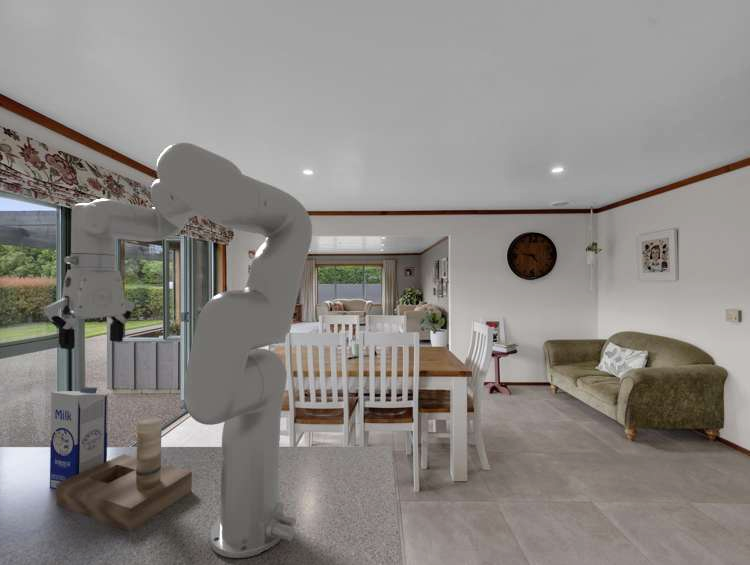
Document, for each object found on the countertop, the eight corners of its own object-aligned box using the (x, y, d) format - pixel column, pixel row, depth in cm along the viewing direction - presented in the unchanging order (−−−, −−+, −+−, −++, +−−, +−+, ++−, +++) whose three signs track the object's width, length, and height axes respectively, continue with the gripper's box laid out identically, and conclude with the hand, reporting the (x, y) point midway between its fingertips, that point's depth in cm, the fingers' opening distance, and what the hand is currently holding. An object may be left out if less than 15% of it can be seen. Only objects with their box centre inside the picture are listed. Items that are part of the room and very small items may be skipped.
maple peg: (165, 480, 72) (166, 419, 72) (146, 492, 68) (147, 427, 68) (150, 476, 73) (151, 416, 73) (130, 487, 69) (131, 424, 69)
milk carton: (48, 488, 76) (50, 391, 75) (82, 471, 82) (83, 382, 82) (75, 493, 74) (77, 394, 74) (107, 476, 80) (108, 385, 80)
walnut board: (191, 491, 75) (191, 472, 75) (129, 531, 63) (130, 508, 63) (123, 471, 82) (123, 454, 82) (55, 504, 70) (56, 483, 70)
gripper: (58, 261, 68) (56, 353, 68) (145, 265, 84) (144, 340, 84) (33, 261, 71) (32, 350, 71) (122, 265, 87) (121, 338, 87)
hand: (93, 344), depth 77 cm, fingers open, 9 cm apart
